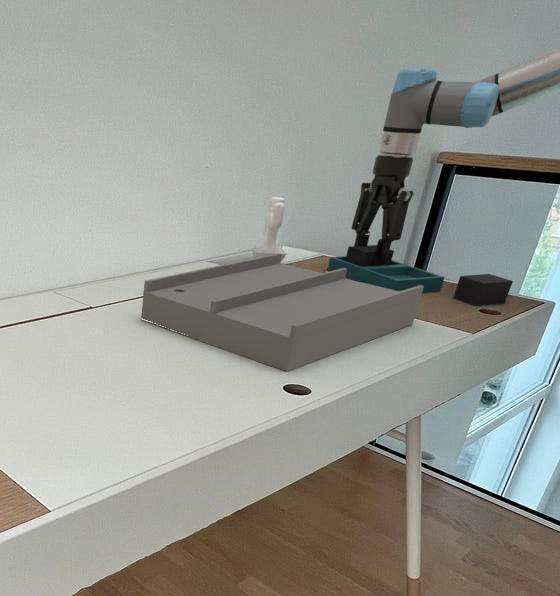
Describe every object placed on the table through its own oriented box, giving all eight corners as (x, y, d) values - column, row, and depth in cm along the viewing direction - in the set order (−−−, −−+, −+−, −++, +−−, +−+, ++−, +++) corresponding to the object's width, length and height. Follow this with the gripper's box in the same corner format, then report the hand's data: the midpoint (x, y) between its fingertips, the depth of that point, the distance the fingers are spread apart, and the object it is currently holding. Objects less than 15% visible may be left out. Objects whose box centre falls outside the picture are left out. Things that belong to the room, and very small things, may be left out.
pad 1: (388, 271, 155) (394, 250, 153) (360, 273, 153) (365, 252, 150) (370, 265, 160) (376, 245, 157) (343, 266, 157) (348, 246, 155)
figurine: (277, 262, 165) (289, 194, 156) (284, 271, 157) (298, 201, 148) (247, 260, 165) (258, 193, 157) (253, 270, 157) (265, 199, 149)
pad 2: (504, 303, 140) (513, 280, 137) (475, 305, 137) (483, 283, 135) (481, 295, 144) (489, 273, 142) (452, 297, 142) (460, 275, 139)
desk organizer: (412, 324, 125) (424, 286, 121) (287, 371, 103) (296, 326, 99) (272, 287, 144) (278, 253, 141) (140, 320, 122) (144, 280, 118)
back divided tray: (440, 291, 146) (444, 277, 144) (392, 295, 142) (397, 280, 140) (371, 267, 163) (374, 254, 161) (327, 270, 159) (330, 256, 158)
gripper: (351, 150, 150) (327, 259, 162) (414, 160, 135) (381, 278, 148) (378, 150, 152) (352, 257, 165) (442, 160, 137) (408, 277, 150)
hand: (366, 267), depth 156 cm, fingers closed on pad 1, 6 cm apart
